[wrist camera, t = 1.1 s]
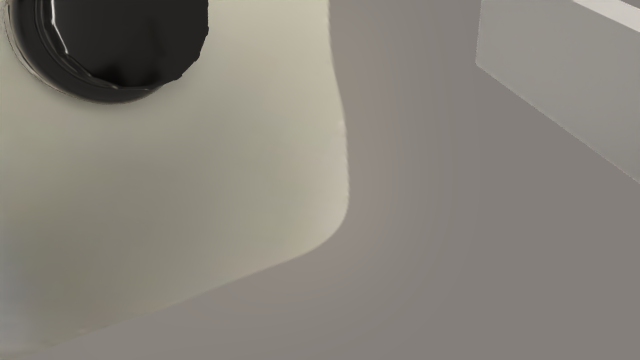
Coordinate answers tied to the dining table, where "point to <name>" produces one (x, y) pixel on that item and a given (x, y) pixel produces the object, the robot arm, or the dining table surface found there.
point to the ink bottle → (107, 44)
